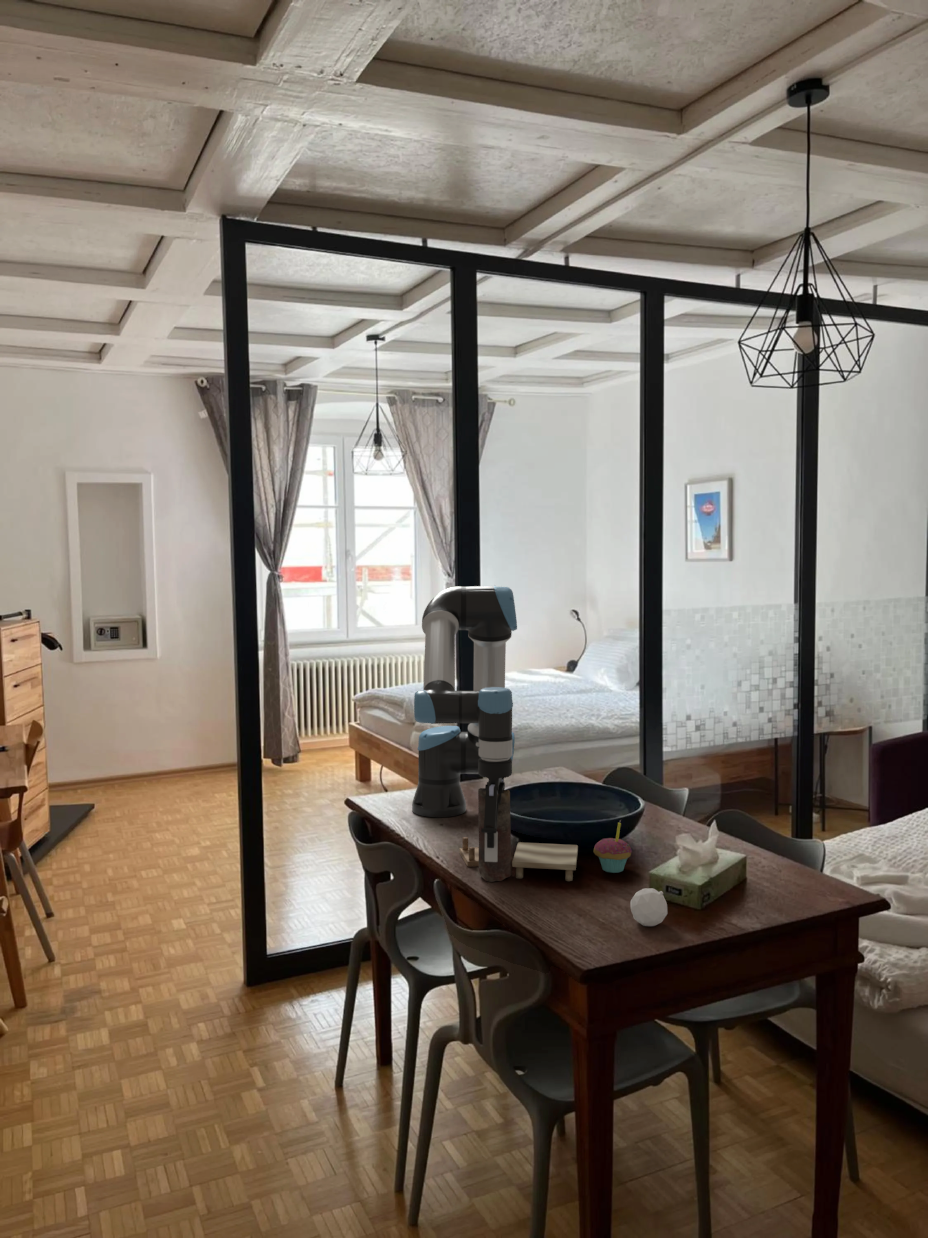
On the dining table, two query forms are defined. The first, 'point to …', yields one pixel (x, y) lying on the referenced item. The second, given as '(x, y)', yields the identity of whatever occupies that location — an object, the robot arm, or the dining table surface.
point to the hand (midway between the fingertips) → (494, 851)
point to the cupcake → (613, 853)
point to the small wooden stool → (545, 857)
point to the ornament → (648, 907)
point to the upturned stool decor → (469, 853)
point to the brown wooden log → (503, 864)
